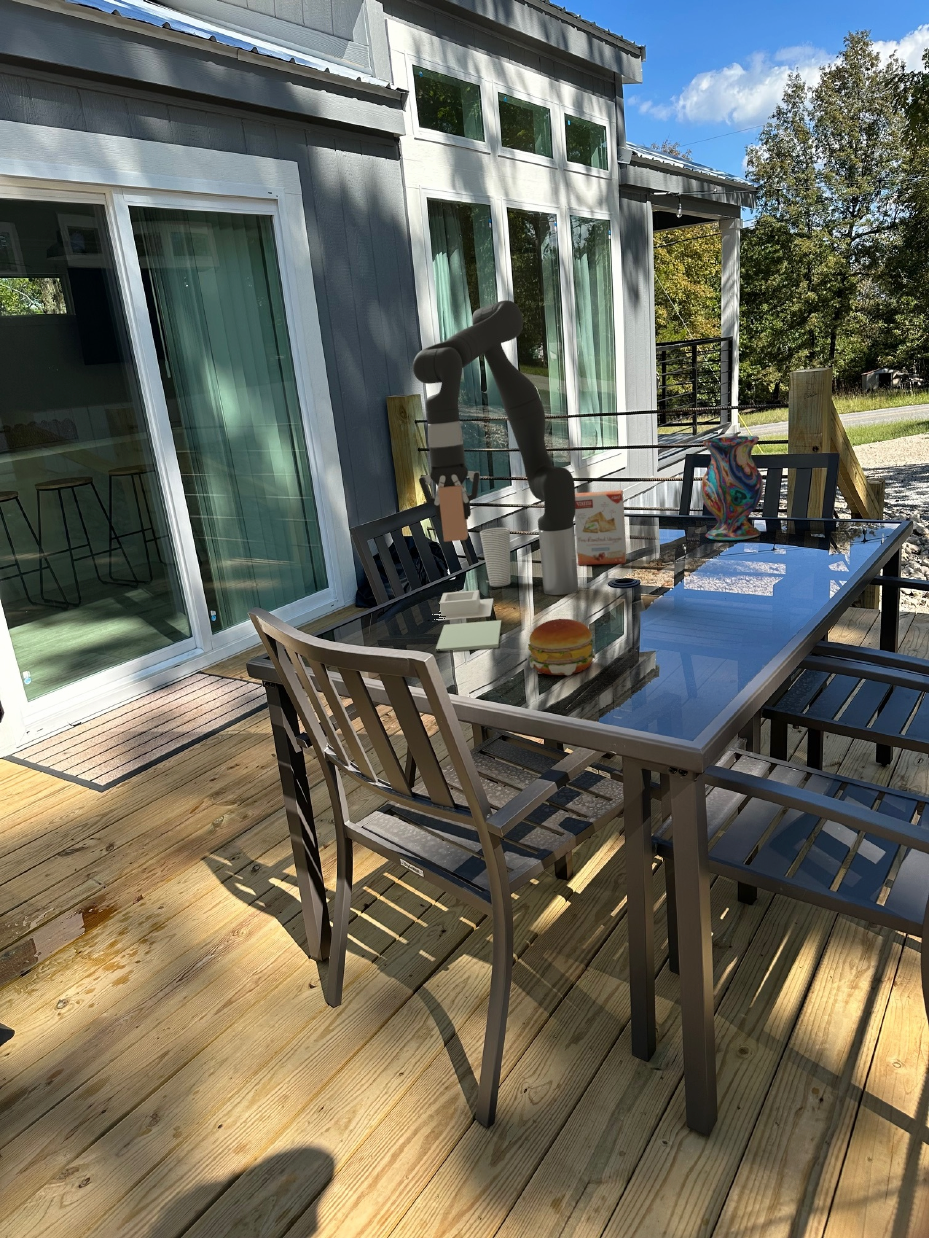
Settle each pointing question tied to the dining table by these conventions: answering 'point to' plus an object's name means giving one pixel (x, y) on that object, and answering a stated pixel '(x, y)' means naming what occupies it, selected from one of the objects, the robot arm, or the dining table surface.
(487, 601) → the pocket
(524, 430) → the robot arm
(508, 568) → the cup
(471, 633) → the mat
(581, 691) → the dining table surface
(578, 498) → the cracker box
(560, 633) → the burger
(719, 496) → the vase
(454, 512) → the part
